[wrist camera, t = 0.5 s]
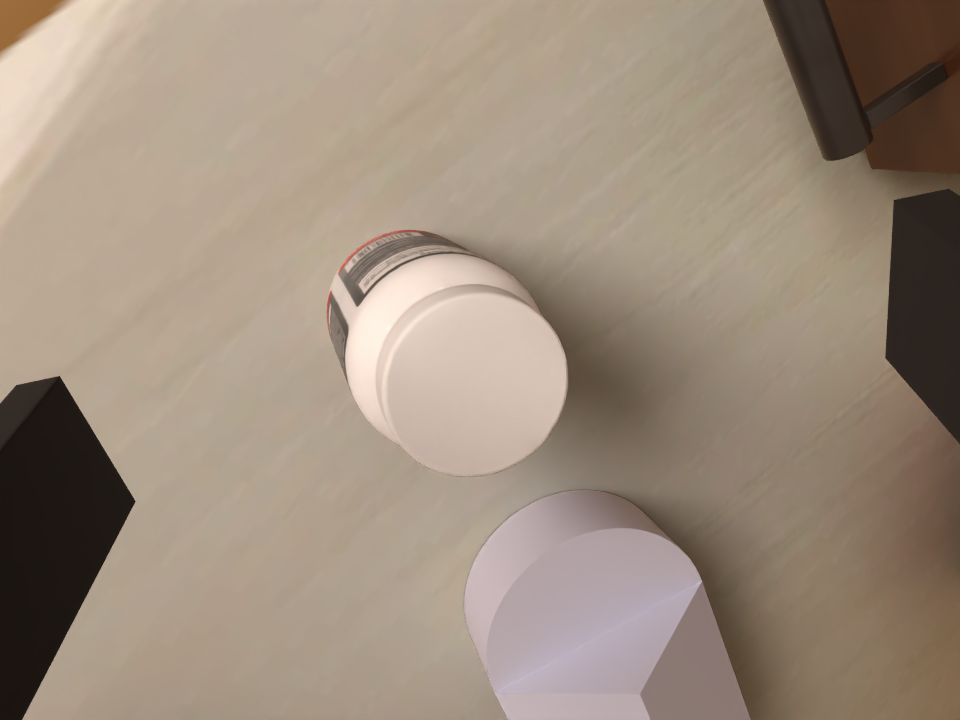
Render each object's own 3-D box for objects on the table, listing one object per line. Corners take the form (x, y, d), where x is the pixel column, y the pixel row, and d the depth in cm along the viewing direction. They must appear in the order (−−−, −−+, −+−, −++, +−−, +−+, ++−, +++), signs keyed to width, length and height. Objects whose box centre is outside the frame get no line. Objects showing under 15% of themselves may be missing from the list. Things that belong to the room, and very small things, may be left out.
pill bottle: (452, 402, 30) (538, 522, 20) (303, 360, 28) (325, 472, 19) (505, 257, 29) (621, 314, 19) (355, 203, 27) (405, 239, 18)
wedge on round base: (713, 683, 37) (629, 453, 32) (806, 795, 31) (718, 529, 26) (542, 779, 36) (430, 555, 31) (601, 916, 29) (472, 660, 25)
